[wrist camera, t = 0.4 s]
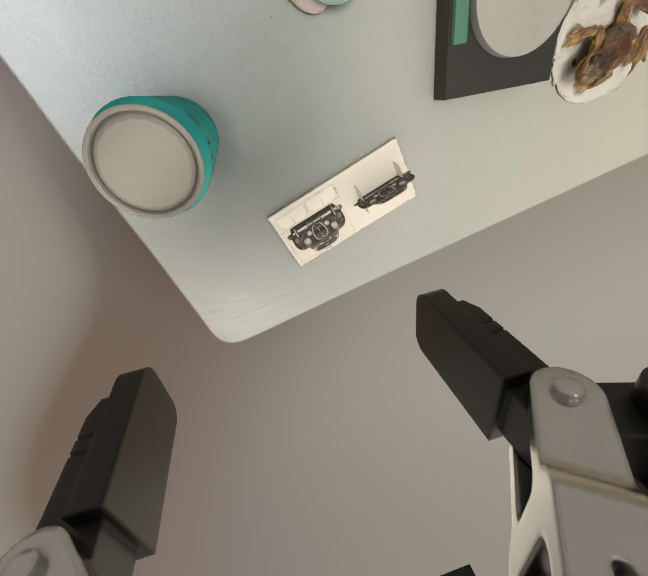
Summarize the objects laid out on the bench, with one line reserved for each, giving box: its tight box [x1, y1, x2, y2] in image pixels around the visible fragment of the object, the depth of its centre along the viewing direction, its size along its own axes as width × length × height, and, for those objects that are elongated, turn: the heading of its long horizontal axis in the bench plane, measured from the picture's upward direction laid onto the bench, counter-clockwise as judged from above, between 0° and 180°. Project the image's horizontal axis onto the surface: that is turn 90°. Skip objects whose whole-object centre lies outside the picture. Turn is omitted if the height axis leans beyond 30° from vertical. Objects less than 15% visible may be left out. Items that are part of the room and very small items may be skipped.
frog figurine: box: [551, 0, 648, 104], centre depth 31 cm, size 12×12×4 cm
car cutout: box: [267, 137, 416, 266], centre depth 33 cm, size 15×7×4 cm, turn 119°
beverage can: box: [82, 96, 218, 219], centre depth 21 cm, size 6×6×15 cm
